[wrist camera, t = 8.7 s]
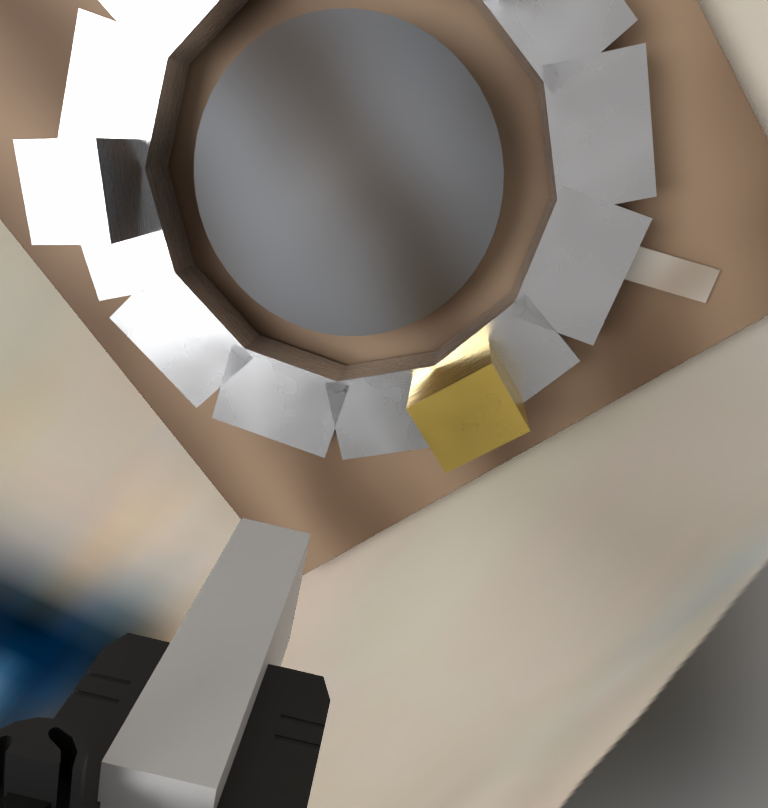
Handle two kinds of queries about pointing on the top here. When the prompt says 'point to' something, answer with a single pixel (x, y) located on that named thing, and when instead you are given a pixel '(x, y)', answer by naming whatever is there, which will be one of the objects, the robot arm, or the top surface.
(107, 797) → the robot arm
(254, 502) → the walnut base
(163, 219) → the grey block ring
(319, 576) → the top surface
